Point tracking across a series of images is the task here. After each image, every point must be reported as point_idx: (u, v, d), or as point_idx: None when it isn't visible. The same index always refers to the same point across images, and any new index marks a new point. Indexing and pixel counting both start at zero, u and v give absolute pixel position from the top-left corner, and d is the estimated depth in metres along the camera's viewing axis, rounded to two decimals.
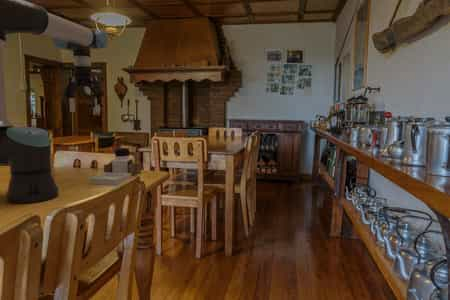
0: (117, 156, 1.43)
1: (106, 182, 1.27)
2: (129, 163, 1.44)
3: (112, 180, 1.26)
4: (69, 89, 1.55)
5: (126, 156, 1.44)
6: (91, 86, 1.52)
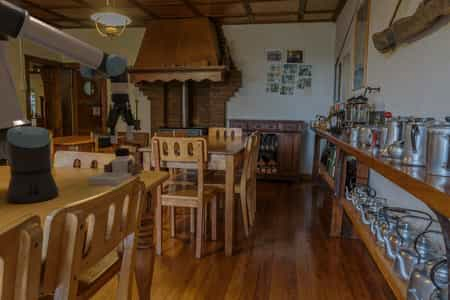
0: (117, 156, 1.43)
1: (106, 182, 1.27)
2: (129, 163, 1.44)
3: (112, 180, 1.26)
4: None
5: (126, 156, 1.44)
6: None
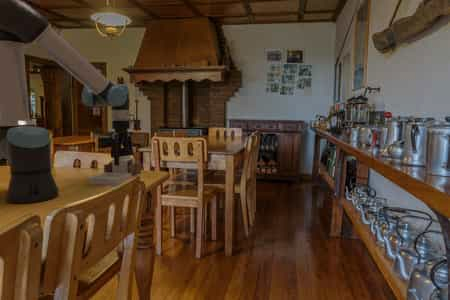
0: None
1: (106, 182, 1.27)
2: (129, 163, 1.44)
3: (112, 180, 1.26)
4: None
5: (126, 156, 1.44)
6: None
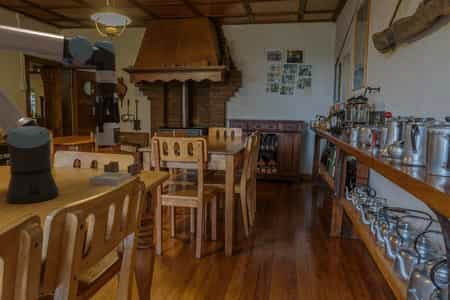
0: None
1: (106, 182, 1.27)
2: (115, 131, 1.29)
3: (112, 180, 1.26)
4: None
5: (112, 123, 1.28)
6: None
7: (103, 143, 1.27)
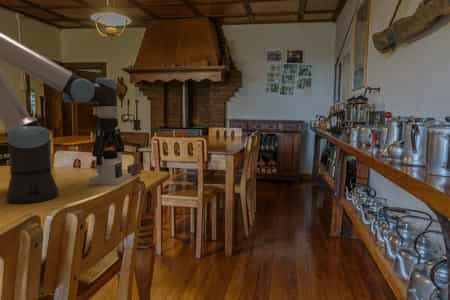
0: None
1: (106, 182, 1.27)
2: (117, 167, 1.30)
3: (112, 180, 1.26)
4: (117, 142, 1.38)
5: (113, 159, 1.30)
6: None
7: None
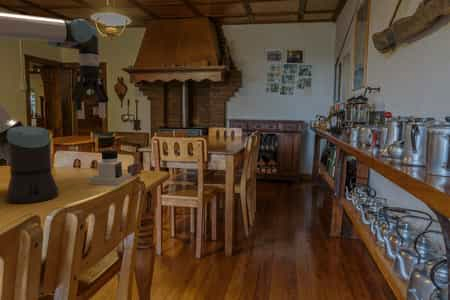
0: (103, 159, 1.29)
1: (106, 182, 1.27)
2: (117, 167, 1.30)
3: (112, 180, 1.26)
4: None
5: (113, 159, 1.30)
6: (81, 88, 1.29)
7: None
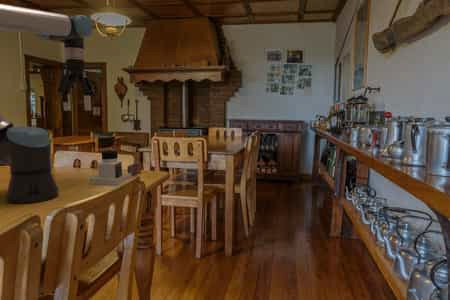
0: (103, 159, 1.29)
1: (106, 182, 1.27)
2: (117, 167, 1.30)
3: (112, 180, 1.26)
4: (86, 86, 1.45)
5: (113, 159, 1.30)
6: (67, 81, 1.33)
7: None
